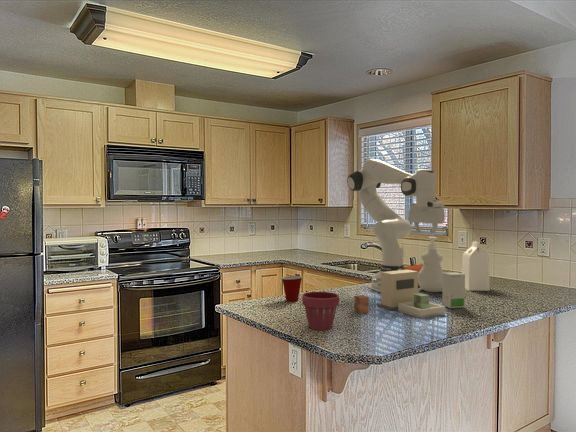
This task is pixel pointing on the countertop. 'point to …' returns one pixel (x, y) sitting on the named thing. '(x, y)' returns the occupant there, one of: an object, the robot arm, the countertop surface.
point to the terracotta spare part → (361, 304)
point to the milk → (476, 268)
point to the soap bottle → (431, 270)
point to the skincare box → (453, 290)
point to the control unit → (398, 288)
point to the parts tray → (421, 310)
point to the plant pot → (320, 309)
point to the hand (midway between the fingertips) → (425, 232)
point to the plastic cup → (292, 287)
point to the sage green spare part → (421, 301)
